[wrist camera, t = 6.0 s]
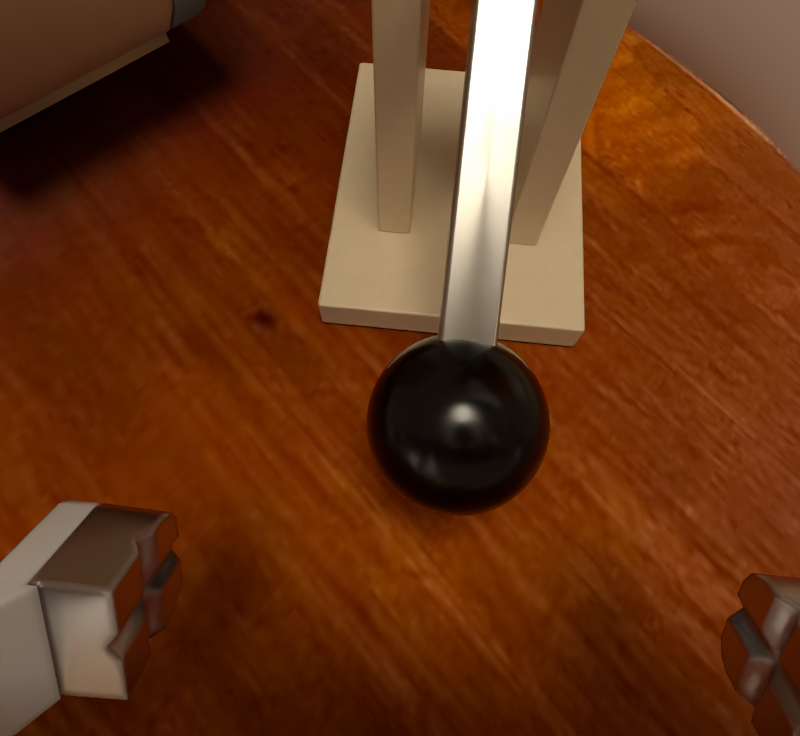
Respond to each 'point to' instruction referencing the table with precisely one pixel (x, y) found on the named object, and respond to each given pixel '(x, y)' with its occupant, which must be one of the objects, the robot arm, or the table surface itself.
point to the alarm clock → (75, 45)
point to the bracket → (435, 167)
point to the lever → (471, 309)
